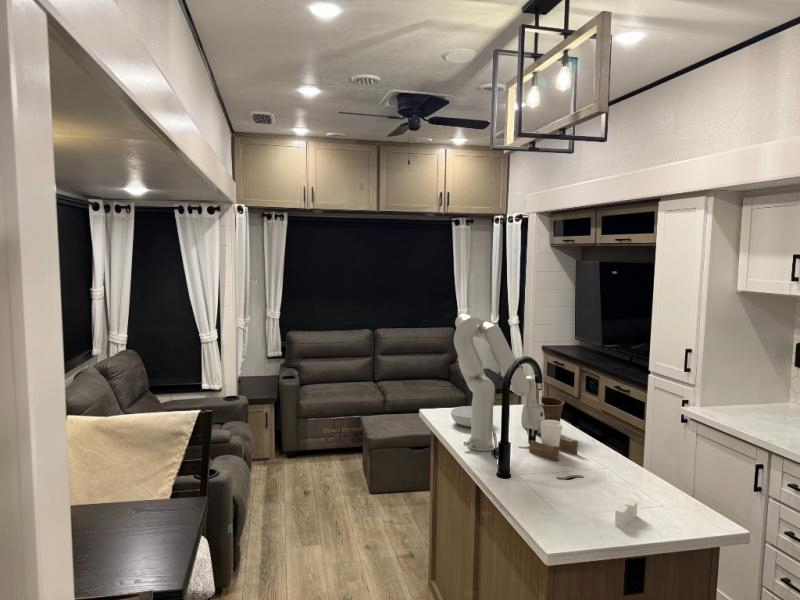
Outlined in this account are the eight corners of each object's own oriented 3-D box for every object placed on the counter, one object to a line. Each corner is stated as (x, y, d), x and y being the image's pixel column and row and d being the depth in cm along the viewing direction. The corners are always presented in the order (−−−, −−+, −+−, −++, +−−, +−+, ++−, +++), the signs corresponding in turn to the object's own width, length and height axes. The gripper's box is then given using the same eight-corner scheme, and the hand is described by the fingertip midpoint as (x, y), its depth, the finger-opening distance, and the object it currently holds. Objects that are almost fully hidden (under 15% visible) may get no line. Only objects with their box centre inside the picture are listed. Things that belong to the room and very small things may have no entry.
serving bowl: (445, 420, 281) (445, 407, 280) (482, 417, 286) (482, 405, 285) (458, 432, 261) (458, 418, 260) (498, 429, 266) (498, 415, 265)
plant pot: (567, 439, 252) (568, 405, 250) (533, 438, 252) (534, 404, 251) (558, 428, 268) (559, 397, 267) (525, 428, 268) (526, 396, 267)
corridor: (556, 461, 222) (556, 447, 222) (529, 452, 233) (529, 439, 233) (577, 453, 231) (578, 440, 231) (550, 445, 242) (550, 432, 242)
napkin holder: (618, 533, 163) (619, 515, 163) (596, 516, 174) (597, 499, 174) (660, 528, 167) (661, 510, 167) (636, 511, 178) (637, 495, 178)
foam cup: (536, 448, 238) (537, 419, 237) (556, 448, 239) (557, 419, 238) (544, 456, 228) (545, 426, 227) (565, 455, 229) (566, 425, 228)
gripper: (552, 405, 237) (550, 446, 238) (524, 398, 248) (523, 437, 249) (541, 408, 232) (540, 449, 233) (514, 401, 244) (513, 440, 245)
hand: (531, 443), depth 241 cm, fingers closed
